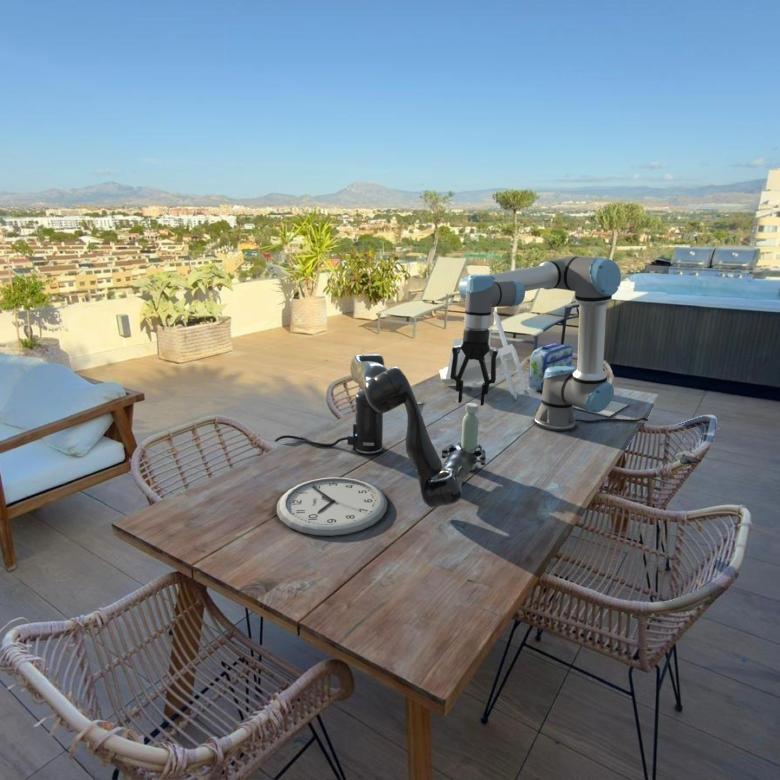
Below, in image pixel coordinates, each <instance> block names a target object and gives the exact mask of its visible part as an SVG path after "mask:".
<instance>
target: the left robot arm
mask: <svg viewBox="0 0 780 780" xmlns="http://www.w3.org/2000/svg"><path fill="white" fill-rule="evenodd" d="M350 375H351V378H352V380H353V382H355V383H356V384H358V385H359V387H360V389H361V390H359V391H357V392H356V393H355V397H354V402H355V404H354V406H355V408H354V410H355V411H354V412H355V415H354V416H355V417H354V419H355V421H354V423H353V424H352V431H351V433H349V434H348V435H347V436H344V437H340V438H338V439H336V440H335V441H333V442H332V443H322V442H316V441H312V440H311V439H308V438H306V437H301V436H296V435H289V434H288V435H287V434H285V435H281V436H278V437H276V438H275V439H274V442H275V443H276V442H279V441H280V440H283V439H292V440H300V441H304V442H306V443H308V444H311V445H313V446H318V447H334V446H336V445H337V444H339V443H340V442H342V441H347V445H348V446H352V450H353V452H354V451H355V452H357V453H358V454H360V455H366V456H367V455H369V456H370V455H371V456H372V455H377V454H379V453H381V452H383V449H384V448H383V447H384V446H383V439H384V438H383V437H384V436H383V435H384V434H383V433H384V432H383V431H384V428H383V427H384V426H383V425H384V414H385V413H389V412H390V411H392V410H394V409H395V408H397V407H399V406H401V405H403V404H404V406H405V410H406V414H407V415H406V417H407V427H406V435H405V451H406V455H407V458H408V459H409V461H410V463H411V465H412V467H413V468H414V470H415V472H416V475H417V478H418V479H417V480H418V483H419V489H420V495H421V499H422V501H423V503H424V504H425V505H426V506H427V507H429V508H433V509H435V508H439V507H444V506H449V505H452V504H456V503H458V502H459V501H460V500H461V499H462V496H463V491H462V488H463V486H462V484H463V483H464V482H465V480H466V479H467V477H468V476H469V475H470V473H471V471H472V470H471V468H472V467H473V465H474V464H477V463H479V464H480V465H481V466H485V465H486V458H487V457H486V456H487V455H486V450H485V449H483V446H482V445H481V444H480V443H479V444H478V443H477V447H476V449H472V450H470V451H464V450H461V441H460V442H458V443H456V444H455V445H453V444H449V445H447V446H446V447H444V448H443V449H442V450H441V458H442V459H445V461H444V462H442V460H441V458H440V456H439V454H438V453H437V450H436V448H435V445H434V444H433V442H432V440H431V438H430V436H429V433H428V429H427V427H426V423H425V421H424V418H423V415H422V413H421V409H420V407H419V404H418V403H417V402H418V400H417V399H416V396H415V393H414V391H413V389H412V385H411V384H410V382H409V380H408V378H407V376H406V375H405V373H404V371H403V370H402V369H401V368H400V367H398V366H393V367H391V368H389V369H388V368H387V367H385V360H384V357H383V355H381V354H379V353H378V354H377V353H376V354H375V353H373V354H356V355H354V357H352V359H351V361H350ZM299 437H300V438H299ZM436 476H437V477H436ZM434 477H436V479H433V478H434Z"/></svg>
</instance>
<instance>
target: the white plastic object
mask: <svg viewBox="0 0 780 780" xmlns="http://www.w3.org/2000/svg"><path fill="white" fill-rule="evenodd" d="M492 315H493V319H494V321H495V324H496V325H495V326H496V328H497V332H498V335H499V338H500V342H501V345H502V347H500V348H498V349H497V350H498V354H497V356H496V369H497V368H499V367H500V366H502V370H503V373H504V376H505V380H506V383H507V386H508V390H509V393H510V394H511V395H512V397H513V398H514V399H515V400H517V392H516V391H517V390H516V388H515V385H514V381H513V378H512V375H511V371H510V369H509V365H508V361H510V360H513V363H514V366H515V369H516V372H517V376H518V380H519V382H520V385H521V389H522V391H523V393H524V395H525V396H526V397H528V396H531V395H530V390H529V386H528V384H527V381H526V378H525V375H524V371H523V369H522V368H523V367H522V366H521V362H520V359H519V355H518V352H517V349H516V347H515V346H514V345H513V343H511V344H508V341H507V337H506V334H505V331H504V328H503V325H502V321H501V318H500V315H499V314H498V312H497V311H496V310H495V311H492ZM462 343H463V338H460V339H458V338H454V340H453V344H452V348H453V347H454V346H461V345H462ZM489 347H490V348H491V349H493V348H492V347H491V346H490V344H489ZM464 358H465V354H464V353H463V351H462V349H461V350H460V353H459V354H458V362H457V369H456V375H457V376H458V373H459V371H460V368H461V366H462V364H463V361H464ZM484 358H485V364H486V368H487V372H488V375H489V374H491V358H492V357H491V356H490V353H489V352H488V353H487V354H486V355H485V356H484ZM452 361H453V352H452V351H451V353H450V357H449V362H448V366H446V367H444V368H442V369H440V370H439V371H438V372H439V376H440V381H442V383H443V384H444V385H445V386H449V385H456V381H455V380H454V379H451V378H450V375H451V368H452ZM461 380H463V384H467V383H468V384H469V383H473V384H477V383H480V382H482V381H484V379H483V374H482V370H481V366H480V363H479V360H475V359H472V360H470V359H469V361H468V363H467V366H466V368H465V371H464V373H463V375H462V378H461Z"/></svg>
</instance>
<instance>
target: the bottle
mask: <svg viewBox="0 0 780 780" xmlns="http://www.w3.org/2000/svg"><path fill="white" fill-rule="evenodd" d="M479 421H480V420H479V417H478V415H477V414H476V412H475V413H470V412H466V413H465V415H464V416H463V418H462V423H461V425H462V426H461V427H462V428H461V441H460V442H461V450H464V451H470V450H472V449H476V447H477V445H478V438H479V437H478V435H479V424H480V423H479ZM476 464H477V463H476ZM476 464H474V465H473V467H472V468H471V470H470V471H474V470H476Z"/></svg>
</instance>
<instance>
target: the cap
mask: <svg viewBox="0 0 780 780" xmlns="http://www.w3.org/2000/svg"><path fill="white" fill-rule="evenodd" d="M464 410H465V412H466V413H467V412H470V413H475V414H476V413H477V412H478V411H479V405H478V403H474V402H466V403H465V405H464Z"/></svg>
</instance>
